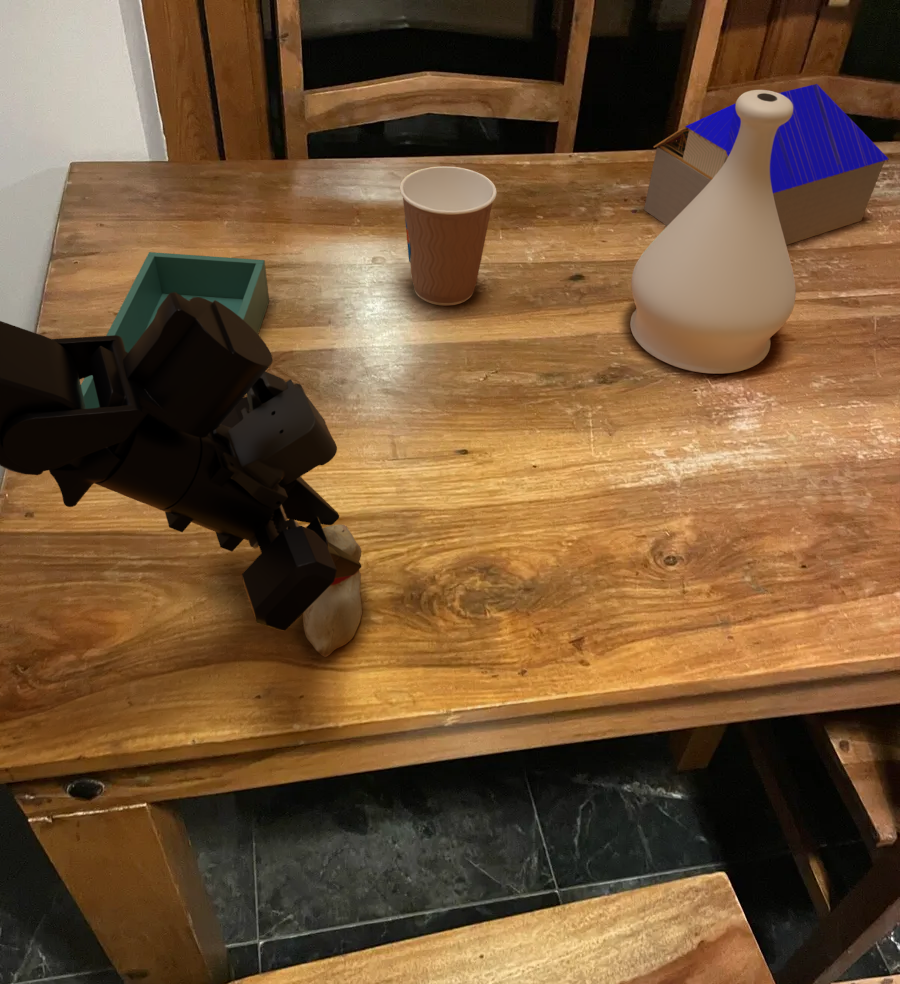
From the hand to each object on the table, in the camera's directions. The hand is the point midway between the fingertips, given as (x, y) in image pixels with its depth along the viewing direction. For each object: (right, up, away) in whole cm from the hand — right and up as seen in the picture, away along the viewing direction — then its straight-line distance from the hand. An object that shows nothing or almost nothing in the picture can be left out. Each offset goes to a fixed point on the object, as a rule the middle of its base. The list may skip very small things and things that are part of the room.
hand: (346, 544), depth 72 cm
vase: (+36, +26, +33) cm, 55 cm away
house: (+48, +46, +52) cm, 84 cm away
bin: (-19, +19, +24) cm, 36 cm away
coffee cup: (+7, +32, +37) cm, 49 cm away
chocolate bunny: (-1, -6, +4) cm, 7 cm away
